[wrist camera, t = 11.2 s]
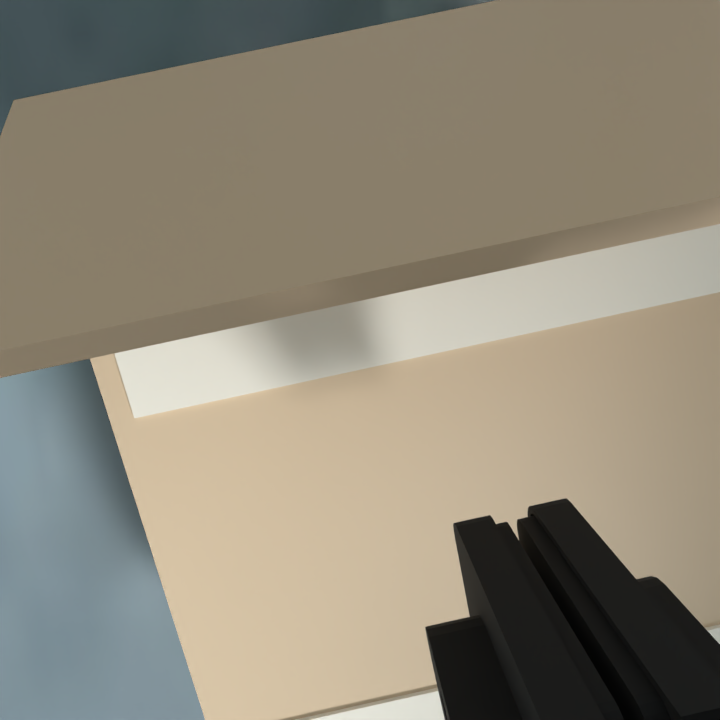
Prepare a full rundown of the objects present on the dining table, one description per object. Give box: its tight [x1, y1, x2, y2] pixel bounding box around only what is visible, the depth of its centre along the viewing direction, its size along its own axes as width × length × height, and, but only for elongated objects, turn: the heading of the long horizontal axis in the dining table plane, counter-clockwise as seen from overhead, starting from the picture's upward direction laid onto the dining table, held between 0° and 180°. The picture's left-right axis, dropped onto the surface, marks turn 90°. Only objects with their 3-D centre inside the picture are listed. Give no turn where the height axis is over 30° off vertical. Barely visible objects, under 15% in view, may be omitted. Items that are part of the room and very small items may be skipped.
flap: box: [0, 0, 720, 378], centre depth 9 cm, size 13×6×1 cm
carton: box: [90, 224, 720, 720], centre depth 17 cm, size 13×18×8 cm
